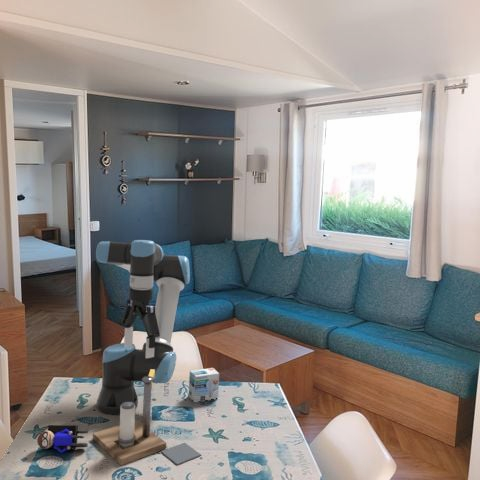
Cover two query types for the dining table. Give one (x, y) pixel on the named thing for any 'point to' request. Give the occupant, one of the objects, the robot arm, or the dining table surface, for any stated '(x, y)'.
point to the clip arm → (152, 375)
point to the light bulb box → (203, 384)
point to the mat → (180, 453)
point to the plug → (127, 425)
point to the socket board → (123, 456)
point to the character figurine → (61, 437)
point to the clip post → (147, 405)
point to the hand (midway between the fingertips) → (138, 351)
